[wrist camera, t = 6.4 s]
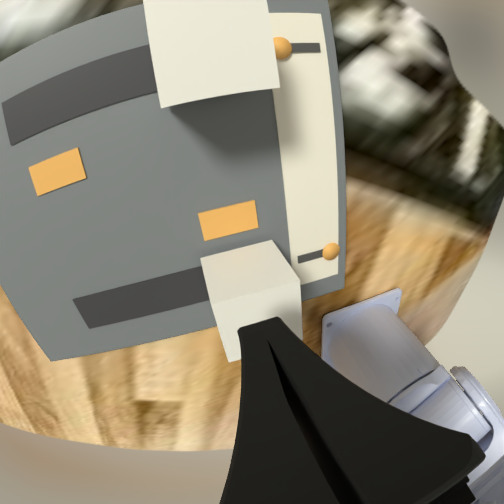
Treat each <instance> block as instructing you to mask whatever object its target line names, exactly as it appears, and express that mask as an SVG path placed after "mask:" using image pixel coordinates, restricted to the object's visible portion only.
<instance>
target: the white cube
mask: <svg viewBox="0 0 504 504" xmlns="http://www.w3.org/2000/svg"><path fill="white" fill-rule="evenodd" d="M200 260H201V264H202V269H203V273H204V277H205V282H206V286H207V290H208V294H209V298H210V303H211V306H212V310H213V313H214V316H215V320H216V323H217V326H218V330H219V333H220V336H221V339H222V343H223V346H224V349H225V352H226V355H227V358H228V362H232V361H236V360H240V359H241V349H240V342H239V336H238V333H237V330H238V329H239V328H240V327H243V326H247V325H250V324H253V323H257V322H260V321H263V320H267V319H270V318H273V317H276V316H277V317H279V318H281V319H282V320H283V322H284V323H285V324H286V325H287V326H288V327H289V328H290V329H291V331H292V332H293V333H294V334H295V335H296V336H297V337H298V338H299V339H300V340H301V341H302V340H303V331H302V308H301V289H300V279H299V278H298V276H297V275H296V273H295V272H294V271H293V269H292V268H291V266H290V265H289V263H288V262H287V260H286V259H285V258H284V256H283V255H282V253H281V252H280V250H279V249H278V248H277V246H276V245H275V243H274V242H273V240H269V241H265V242H261V243H257V244H253V245H249V246H245V247H241V248H237V249H233V250H230V251H226V252H222V253H218V254H214V255H210V256H206V257H202V258H200Z"/></svg>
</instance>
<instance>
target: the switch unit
mask: <svg viewBox="0 0 504 504" xmlns="http://www.w3.org/2000/svg"><path fill="white" fill-rule="evenodd" d="M267 5H268V11H269V17H270V23H271V29H272V35H273V41H274V48H275V54H276V61H277V68H278V75H279V82H280V88H273V89H264V90H256V91H248V92H241V93H235V94H228V95H222V96H217V97H211V98H206V99H201V100H196V101H191V102H186V103H182V104H177V105H173V106H169V107H165V108H161V106H160V101H159V96H158V90H157V85H156V79H155V74H154V68H153V63H152V57H151V51H150V44H149V38H148V32H147V25H146V18H145V11H144V4H141V5H137V6H133V7H129V8H126V9H122V10H119V11H115V12H112V13H109V14H106V15H102V16H99V17H97V18H94V19H91V20H88V21H85V22H83V23H80V24H77V25H75V26H72V27H70V28H67V29H65V30H62V31H60V32H58V33H56V34H53V35H51V36H49V37H47V38H45V39H42V40H40V41H38V42H36V43H34V44H32V45H30V46H28V47H26V48H25V49H23V50H21V51H19V52H17V53H15V54H13V55H12V56H10V57H8V58H6V59H5V60H3V61H1V62H0V285H1V287H2V288H3V290H4V292H5V294H6V295H7V297H8V299H9V300H10V302H11V304H12V305H13V307H14V309H15V310H16V312H17V314H18V315H19V317H20V318H21V320H22V321H23V323H24V324H25V326H26V327H27V329H28V330H29V332H30V333H31V335H32V336H33V338H34V339H35V340H36V342H37V343H38V345H39V346H40V347H41V349H42V350H43V351H44V353H45V354H46V356H47V357H48V358H49V359H50V361H57V360H63V359H69V358H75V357H80V356H86V355H91V354H96V353H101V352H106V351H111V350H116V349H121V348H126V347H131V346H135V345H140V344H144V343H149V342H153V341H158V340H162V339H166V338H171V337H175V336H179V335H183V334H187V333H191V332H195V331H199V330H203V329H207V328H211V327H215V326H217V323H216V320H215V316H214V313H213V310H212V306H211V303H210V298H209V294H208V290H207V286H206V282H205V277H204V273H203V269H202V264H201V260H200V258H202V257H206V256H210V255H214V254H218V253H222V252H226V251H230V250H233V249H237V248H241V247H245V246H249V245H253V244H257V243H261V242H265V241H269V240H273V242H274V243H275V245H276V246H277V248H278V249H279V250H280V252H281V253H282V255H283V256H284V258H285V259H286V260H287V262H288V263H289V265H290V266H291V268H292V269H293V271H294V272H295V273H296V275H297V276H298V278H299V279H300V289H301V302H302V301H305V300H309V299H312V298H315V297H318V296H321V295H324V294H327V293H330V292H333V291H337V290H340V289H343V288H344V279H345V253H346V175H345V150H344V132H343V117H342V105H341V94H340V84H339V75H338V66H337V58H336V50H335V43H334V36H333V30H332V23H331V17H330V12H329V6H328V1H327V0H267Z"/></svg>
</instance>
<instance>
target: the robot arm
mask: <svg viewBox="0 0 504 504" xmlns="http://www.w3.org/2000/svg"><path fill="white" fill-rule="evenodd" d="M401 295H402V290H401V289H400V288H396V289H393V290H390V291H388V292H385V293H383V294H380V295H378V296H375V297H372V298H370V299H367V300H364V301H362V302H359V303H356V304H353V305H351V306H348V307H345V308H342V309H339V310H337V311H334V312H331V313H328V314H326V315H325V316H324V317H323V319H322V352H321V358H320V357H319V356H318V355H317V354H316V353H314V352H313V351H312V350H311V349H310V348H309V347H308V346H307V345H306V344H305V343H303V342H302V341H301V340H300V339H299V338H298V337H297V336H296V335H295V334H294V333H293V332H292V331H291V329H290V328H289V327H288V326H287V325H286V324H285V323H284V322H283V320H282V319H281V318H279V317H277V316H276V317H273V318H270V319H267V320H263V321H260V322H257V323H253V324H250V325H247V326H243V327H240V328H239V329H238V330H237V333H238V336H239V342H240V349H241V397H240V410H239V419H238V426H237V433H236V439H235V445H234V450H233V454H232V459H231V464H230V468H229V473H228V477H227V480H226V483H225V487H224V490H223V494H222V497H221V500H220V504H504V418H503V417H502V416H501V412H500V410H499V408H498V407H497V405H496V404H495V402H494V401H493V399H492V398H491V397H490V396H489V394H488V393H487V392H486V390H485V389H484V388H483V387H482V386H481V384H480V383H479V382H478V381H477V380H476V379H475V377H474V376H473V375H472V374H471V373H470V372H469V371H468V370H467V369H466V368H465V367H457V366H454V367H453V368H452V369H451V370H450V372H451V373H452V374H453V376H454V377H455V378H456V379H457V380H456V381H457V382H458V383H459V384H460V386H461V387H462V388H463V389H464V391H463V390H462V389H461V388H460V386H459V385H458V384H457V383H456V381H455V380H454V379H453V378H452V377H451V375H450V374H449V373H448V372H447V371H446V370H445V368H444V367H443V366H442V365H440V364H439V363H438V362H437V360H436V359H435V358H434V357H433V356H432V355H431V353H430V352H429V351H428V350H427V349H426V347H425V346H424V345H423V344H422V343H421V342H420V340H419V339H418V338H417V337H416V336H415V335H414V334H413V332H412V331H411V330H410V329H409V328H408V327H407V326H406V325H405V323H404V322H403V321H402V320H401V319H400V318H399V317H398V316H397V313H398V309H399V304H400V299H401ZM479 411H481V412H482V414H483V416H482V415H481V413H480V412H479Z"/></svg>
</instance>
